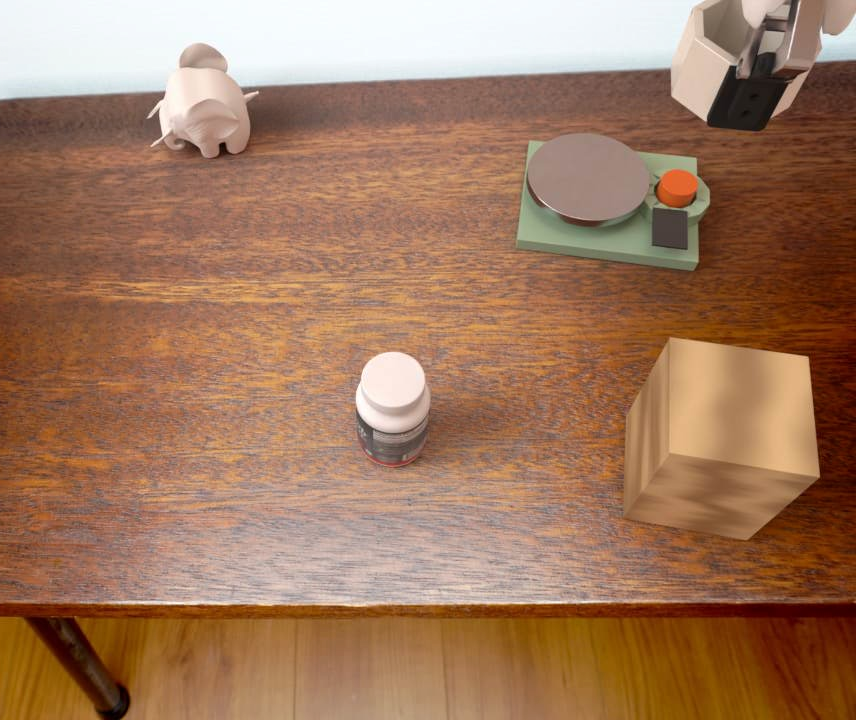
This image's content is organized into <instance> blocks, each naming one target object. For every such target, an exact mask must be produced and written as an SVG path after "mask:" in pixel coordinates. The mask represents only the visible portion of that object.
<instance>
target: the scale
mask: <svg viewBox="0 0 856 720" xmlns="http://www.w3.org/2000/svg"><path fill="white" fill-rule="evenodd" d="M546 142H547V141H542V140H541V141H540V140H533V139H532V140H531V139H530V140H528V146H527V150H526V157H525V158H526V159H525V167H524V176H523V182H522V191H521V192H522V193H521V199H520V208H519V213H518V214H519V215H518V224H517V230H516V231H517V232H516V238H515V250H516V249H517V250H527V251H532V252H539V253H540V252H541V253H548V254H555V255H564V256H571V257H579V258H586V259H596V260H603V261H611V262H618V263H627V264H635V265H643V266H651V267H657V268H665V269H673V270H681V271H690V272H694V271H695V270H696V268H697V266H698V264H699V262H700V255H699V254H700V253H699V251H700V250H699V222H700V221H701V220H702V218H703V217H704V216H705V215H706V212H707V211H708V208H709V206H710V205H711V190H710V188H709V187H708V186H707V184H706V183H705V182H704V180H703V179H702V178H701V177H700V176H698V158H697V157H692V156H683V155H673V154H663V153H656V152H655V153H654V152H645V151H635V150H634V151H635V152H636V153H637V154H638V155H639V157H640V158H641V159H642V160H643V162H644V163H645V165H646V167H647V170H648V173H649V178H650V185H649V190H648V193H647V196H646V198H645V201H644V202H643V204H642V206H641V207H640V209H639V210H638V211H637V212H636V213H635V214H634V215H632V216H631V217H629V218H628V219H626V220H624V221H622V222H619V223H617V224H614V225H609V226H604V227H581V226H575V225H571V224H568V223H565V222H562V221H560V220H557V219H555V218H553V217H552V216H550V215H549V214H547V213H546V212H544V211H543V210H542V209H541V208H540V207H539V206H538V205H537V204H536V203H535V202H534V200H533V199H532V197H531V195H530V193H529V191H528V188H527V183H526V174H527V170H528V165H529V162H530V159H531V157H532V156H533V154H534V153H535V152H536V151H537V149H538V148H539V147H541V146H542V145H543V144H545V143H546ZM674 169H680V170H685V171H687V172H690V173H691V174H693V175H694V176H695V177H696V179H697V181H698V188H697V190H696V193H695V195H694V197H693V199H692V201H691V203H690V204H689V205H687V206H685V207H682V208H672V207H668V206H666V205H664V204H662V203H661V202H660V201H659V200H658V198H657V195H656V191H657V188H658V186H659V183H660V181H661V178H662V176H663V175H664V174H665V173H666V172H668V171H670V170H674ZM653 207H655V208H664V209H673V210H681V211H688V250H682V249H674V248H666V247H658V246H652V208H653Z"/></svg>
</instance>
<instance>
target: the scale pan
mask: <svg viewBox="0 0 856 720" xmlns="http://www.w3.org/2000/svg"><path fill="white" fill-rule="evenodd" d="M545 142H546V143H545V144H543V145H542V146H541V147H539V148H538V149H537V151H536V152H535V153H534V154H533V156H532V157H531V159H530V162H529V165H528V170H527V174H526V183H527V188H528V191H529V193H530V195H531V197H532V199H533V200H534V202H535V203H536V204H537V205H538V206H539V207H540V208H541V209H542V210H543V211H544V212H546V213H547V214H549V215H550V216H552V217H553V218H555V219H557V220H560V221H562V222H565V223H568V224H571V225H575V226H581V227H604V226H609V225H614V224H617V223H619V222H622V221H624V220H626V219H628V218H629V217H631V216H632V215H634V214H635V213H636V212H637V211H638V210H639V209H640V207H641V206H642V204H643V202H644V201H645V198H646V196H647V193H648V190H649V185H650V178H649V173H648V170H647V167H646V165H645V163H644V162H643V160H642V159H641V158H640V157H639V155H638V154H637V153H636V152H635V150H634V149H632V148H631V147H629V146H628V145H627V144H626V143H625V144H624V143H623V142H622V141H619V140H618V139H615V138H613V137H609V136H607V135H602V134H597V133H592V132H591V133H590V132H575V133H567V134H564V135H563V134H562V135H560V136H557V137H556V136H555V137H554V138H552V139H549V140H548V141H545ZM652 246H658V247H666V248H674V249H682V250H688V211H681V210H673V209H664V208H655V207H653V208H652Z"/></svg>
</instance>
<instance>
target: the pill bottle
mask: <svg viewBox="0 0 856 720" xmlns="http://www.w3.org/2000/svg"><path fill="white" fill-rule="evenodd" d="M426 379H427V378H426V374H425V371H424V369H423V366H422V365H421V364H420V362H419V361H417V360H416V359H415V358H414V357H412V356H411V355H409V354H406V353H405V352H400V351H386V352H382V353H379V354H377V355H375V356H374V357H372V358H371V359H370V360H368V361H367V362H366V364H365V366H364V367H363V370H362V372H361V376H360V382H359V384H358V386H357V388H356V391H355V398H354V399H355V419H356V420H355V421H356V437H357V443H358V445H359V447H360V449H361V451H362V453H363V454H364V455H365V456H366V457H367V458H368V459H369V460H370V461H372V462H373V463H375V464H378V465H380V466H383V467H389V468H397V467H403V466H405V465H408V464H410V463H411V462H413V461H414V460H416V459H417V458H418V457H419V456H420V455H421V454H422V452H423V450H424V448H425V446H426V443H427V439H428V438H427V437H428V429H429V419H430V411H431V399H432V398H431V391H430V388H429V385H428V383H427V382H426V381H427V380H426Z"/></svg>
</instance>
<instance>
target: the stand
mask: <svg viewBox="0 0 856 720" xmlns="http://www.w3.org/2000/svg"><path fill="white" fill-rule="evenodd" d="M814 410H815V409H814V400H813V389H812V379H811V369H810V359H809V356H806V355H799V354H793V353H785V352H777V351H771V350H764V349H758V348H757V349H756V348H750V347H743V346H736V345H729V344H728V345H727V344H722V343H715V342H707V341H701V340H693V339H687V338H678V337H671V336H670V337H669V338H668V340H667V342H666V344H665V345H664V347H663V349H662V351H661V353H660V354H659V356H658V357H657V360H656V362H655V364H654V365H653V367H652V368H651V371H650V372H649V374H648V376H647V378H646V380H645V381H644V383H643V385H642V387H641V388H640V390H639V392H638V394H637V396H636V398H635V400H634V401H633V403H632V404H631V407H630V408H629V410H628V412H627V413H626V415H625V431H624V432H625V434H624V435H625V436H624V437H625V438H624V463H623V491H622V519H625V520H630V521H634V522H635V521H636V522H639V523H645V524H652V525H658V526H663V527H668V528H674V529H679V530H685V531H691V532H697V533H703V534H708V535H714V536H720V537H723V538H724V537H725V538H729V539H736V540H742V541H749V539H751V538H752V537H753V536H754V535H756V533H757V532H758V531H760V530H761V529H762V528H764V527H765V525H767V524H768V523H769V522H770V521H771V520H773V519H774V518H775V517H776V516H777V515H778V514H779V513H780V512H782V511H783V510H784V509H785V508H786V507H788V505H790V504H791V503H792V502H793V501H795V500H796V499H797V498H798V497H799V496H800V495H802V494H803V493H804V492H805V491H806V490H807V489H808V488H809V487H811V486H812V485H813V484H814V483H815V482H817V481H818V479H820V478H821V472H820V463H819V452H818V450H819V449H818V442H817V441H818V440H817V430H816V421H815V419H816V418H815V411H814Z"/></svg>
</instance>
